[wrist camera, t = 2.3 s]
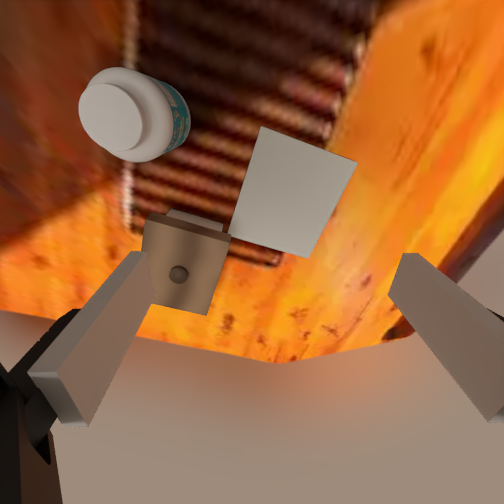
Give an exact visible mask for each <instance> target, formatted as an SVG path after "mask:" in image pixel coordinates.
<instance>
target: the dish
mask: <svg viewBox="0 0 504 504" xmlns="http://www.w3.org/2000/svg"><path fill="white" fill-rule="evenodd" d="M166 216H169V217H172V218H176V219H179V220H183V221H186V222H189V223H193V224H196V225H200V226H203V227H207V228H210V229H214V230H217V231H220V232H222V229H223V224H222V223H219V222H215V221H212V220H209V219H205V218H202V217H198V216H195V215H192V214H188V213H185V212H182V211H178V210H175V209H172V208H171V210H170V211H169V212H168V213H167V215H166Z"/></svg>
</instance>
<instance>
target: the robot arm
mask: <svg viewBox="0 0 504 504" xmlns="http://www.w3.org/2000/svg"><path fill="white" fill-rule="evenodd" d="M155 295H156V293H155V288H154V284H153V279H152V275H151V270H150V266H149V261H148V257H147V252H146V251H131V252H130V253H129V254H128V255H127V257H126V258H125V259H124V260H123V261H122V262H121V264H120V265H119V266H118V267H117V268H116V269H115V271H114V272H113V273H112V274H111V275H110V276H109V277H108V279H107V280H106V281H105V282H104V283H103V284H102V286H101V287H100V288H99V289H98V290H97V291H96V293H95V294H94V295H93V296H92V297H91V298H90V300H89V301H88V302H87V303H86V304H85V305H84V307H83V308H82V309H72V310H71V311H69V312H68V313H66V314H65V315H63V316H62V317H60V318H59V319H58V320H57V321H56V322H55V323H54V324H53V326H51V327H50V329H49V331H48V332H46V333H45V334H44V335H43V336H42V337H41V338H40V341H37V343H36V344H35V345H34V346H33V347H32V348H31V349H30V350H29V351H28V352H27V353H26V354H25V356H23V358H22V359H21V360H20V361H19V362H18V363H17V364H16V365H15V366H14V367H13V368H12V369H11V370H10V372H9V373H8V372H7V371H6V370H5V368H4V367H3V365H2V364H1V363H0V504H63V503H62V495H61V489H60V482H59V475H58V468H57V462H56V455H55V448H54V441H53V435H52V433H51V431H50V428H51V426H52V424H53V423H54V421H55V420H56V418H57V417H58V419H59V420H60V422H61V423H62V425H63V426H64V427H88V426H89V424H90V422H91V420H92V418H93V417H94V415H95V413H96V411H97V409H98V407H99V405H100V403H101V401H102V399H103V397H104V395H105V393H106V391H107V389H108V387H109V385H110V383H111V381H112V379H113V377H114V375H115V374H116V372H117V370H118V368H119V366H120V364H121V362H122V360H123V358H124V356H125V354H126V352H127V350H128V348H129V346H130V344H131V342H132V340H133V338H134V336H135V335H136V333H137V331H138V329H139V327H140V325H141V323H142V321H143V319H144V317H145V315H146V313H147V311H148V309H149V307H150V305H151V303H152V301H153V299H154V297H155ZM388 296H389V297H390V299H391V300H392V301H393V303H394V304H395V305H396V306H397V308H398V309H399V310H400V311H401V313H402V314H403V315H404V316H405V318H406V319H407V320H408V322H409V323H410V324H411V325H412V327H413V328H414V329H415V330H416V332H417V333H418V334H419V335H420V337H421V338H422V339H423V341H424V342H425V343H426V344H427V346H428V347H429V348H430V349H431V351H432V352H433V353H434V354H435V356H436V357H437V358H438V359H439V361H440V362H441V363H442V365H443V366H444V367H445V368H446V370H447V371H448V372H449V374H450V375H451V376H452V377H453V378H454V380H455V381H456V382H457V384H458V385H459V386H460V388H461V389H462V390H463V391H464V392H465V394H466V395H467V396H468V398H469V399H470V400H471V401H472V403H473V404H474V405H475V406H476V408H477V409H478V410H479V411H480V413H481V414H482V415H483V417H484V418H485V419H486V420H487V422H489V423H490V422H491V423H492V422H493V423H494V422H495V423H496V422H504V317H502V316H500V315H498V314H497V313H495V312H492V311H491V310H489V309H487V308H485V307H484V306H483V305H482V304H480V303H479V302H478V301H477V300H475V299H474V298H473V297H472V296H470V295H469V294H468V293H467V292H465V291H464V290H463V289H461V288H460V287H459V286H458V285H457V284H455V283H454V282H453V281H452V280H450V279H449V278H448V277H447V276H445V275H444V274H443V273H442V272H440V271H439V270H438V269H437V268H435V267H434V266H433V265H432V264H430V263H429V262H428V261H427V260H425V259H424V258H423V257H422V256H420V255H419V254H418V253H403V255H402V258H401V260H400V263H399V266H398V269H397V271H396V274H395V277H394V280H393V282H392V285H391V288H390V291H389V293H388Z"/></svg>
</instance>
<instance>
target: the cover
mask: <svg viewBox="0 0 504 504" xmlns="http://www.w3.org/2000/svg"><path fill="white" fill-rule="evenodd" d="M230 241H231V234H227V233H224V232H220V231H217V230H214V229H210V228H207V227H203V226H200V225H196V224H193V223H189V222H186V221H183V220H179V219H176V218H172V217H169V216H165V215H162V214H158V213H155V212H152V213H151V214H150V215H149V216H148V217H147V218H146V219H145V225H144V233H143V241H142V249H141V251H146V252H147V257H148V261H149V266H150V270H151V275H152V279H153V284H154V288H155V293H156V295H155V297H154V299H153V301H152V304H157V305H161V306H166V307H170V308H175V309H179V310H183V311H188V312H192V313H197V314H201V315H205V316H207V313H208V310H209V307H210V303H211V300H212V297H213V294H214V291H215V288H216V285H217V282H218V279H219V276H220V273H221V270H222V267H223V264H224V261H225V258H226V255H227V252H228V249H229V246H230Z"/></svg>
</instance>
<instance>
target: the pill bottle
mask: <svg viewBox="0 0 504 504" xmlns="http://www.w3.org/2000/svg"><path fill="white" fill-rule="evenodd" d="M79 116H80V120H81V123H82V125H83V127H84V129H85V130H86V132H87V133H88V135H89V136H90V137H91V138H92V139H93V140H94V141H95V142H96V143H97V144H99V145H100V146H102V147H104V148H105V149H106V150H107V151H109V152H110V153H112V154H113V155H115V156H117V157H119V158H121V159H124V160H127V161H131V162H146V161H149V160H152V159H155V158H157V157H159V156H160V155H162V154H164V153H166V152H169V151H171V150H173V149H175V148H177V147H178V146H180V145H181V144H182V143H183V142H184V141H185V139H186V138H187V136H188V134H189V131H190V125H191V118H190V112H189V109H188V106H187V104H186V102H185V100H184V99H183V97H182V96H181V95H180V93H179V92H178V91H177V90H176V89H174V88H173V87H172V86H170V85H168V84H166V83H164V82H162V81H159V80H157V79H154V78H152V77H149V76H147V75H144V74H142V73H139V72H137V71H134V70H131V69H128V68H122V67H114V68H108V69H105V70H103V71H101V72H99V73H98V74H96V75H95V76H94V77H93V78H92V79H91V81H90V82H89V84H88V86H87V88H86V90H85V91H84V92H83V94H82V95H81V98H80V101H79Z"/></svg>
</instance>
